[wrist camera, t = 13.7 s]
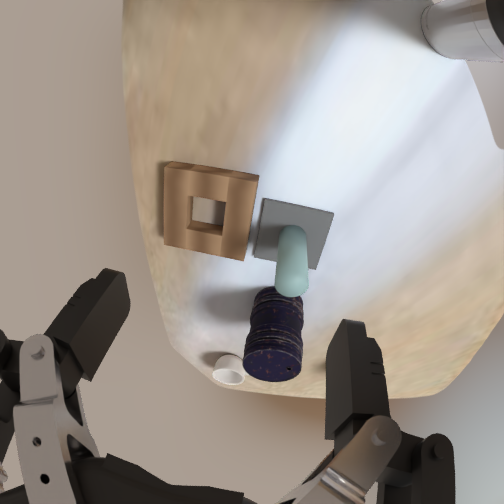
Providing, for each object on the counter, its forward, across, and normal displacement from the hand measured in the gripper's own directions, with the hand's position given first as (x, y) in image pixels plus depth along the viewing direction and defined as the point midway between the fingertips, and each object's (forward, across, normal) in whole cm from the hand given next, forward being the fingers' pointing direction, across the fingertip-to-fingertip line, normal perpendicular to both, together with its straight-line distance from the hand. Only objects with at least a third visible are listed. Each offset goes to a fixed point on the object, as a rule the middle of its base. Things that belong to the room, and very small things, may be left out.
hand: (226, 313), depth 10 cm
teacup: (+35, +1, +55) cm, 65 cm away
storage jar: (+35, -5, +33) cm, 48 cm away
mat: (+35, -4, +17) cm, 39 cm away
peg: (+34, -5, +17) cm, 38 cm away
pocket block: (+35, +9, +14) cm, 39 cm away
